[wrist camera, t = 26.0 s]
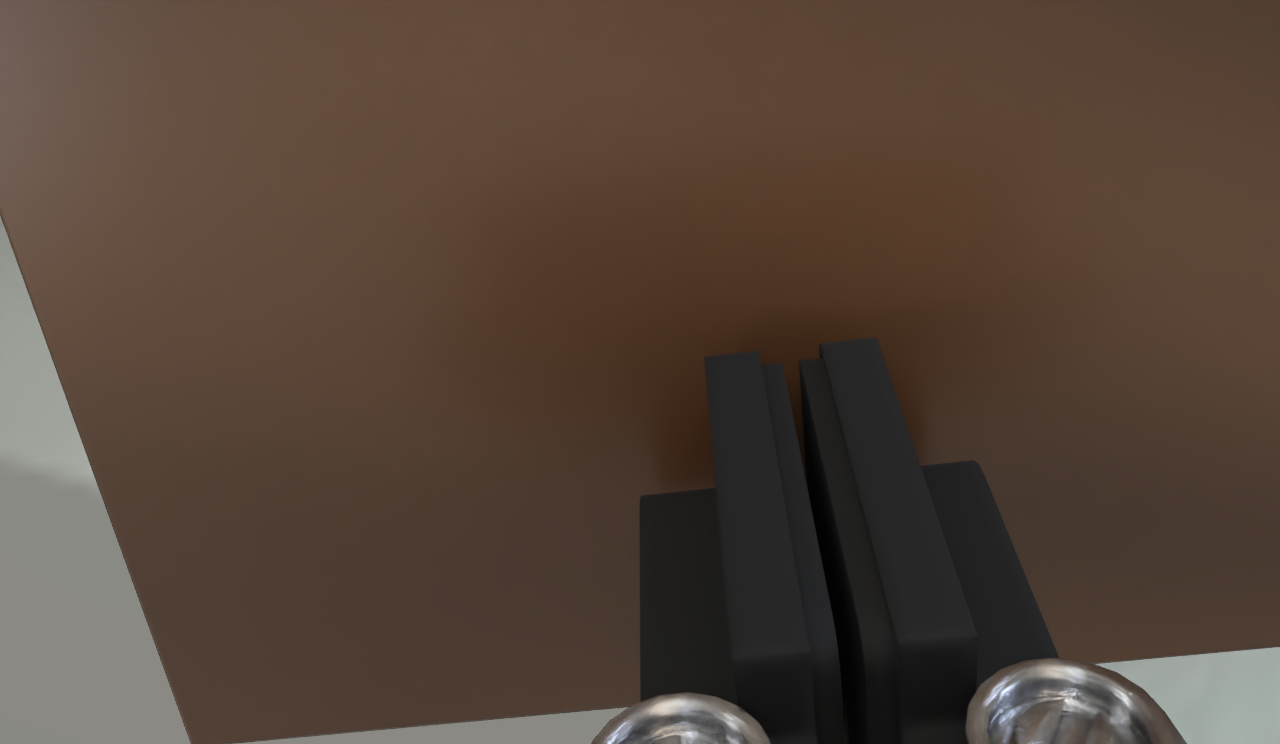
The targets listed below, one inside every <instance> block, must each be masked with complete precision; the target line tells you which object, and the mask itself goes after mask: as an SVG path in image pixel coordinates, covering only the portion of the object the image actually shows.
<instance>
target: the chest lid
mask: <svg viewBox="0 0 1280 744" xmlns="http://www.w3.org/2000/svg"><path fill="white" fill-rule="evenodd" d="M0 215H1V218H2V221H3V224H4V227H5V229H6V232H7V235H8V238H9V240H10V243H11V246H12V249H13V251H14V254H15V257H16V260H17V263H18V265H19V268H20V271H21V274H22V276H23V279H24V282H25V285H26V288H27V290H28V293H29V296H30V299H31V301H32V304H33V307H34V310H35V312H36V315H37V318H38V321H39V324H40V326H41V329H42V332H43V335H44V337H45V340H46V343H47V346H48V349H49V351H50V354H51V357H52V360H53V362H54V365H55V368H56V371H57V374H58V376H59V379H60V382H61V385H62V387H63V390H64V393H65V396H66V398H67V401H68V404H69V407H70V410H71V412H72V415H73V418H74V421H75V423H76V426H77V429H78V432H79V435H80V437H81V440H82V443H83V446H84V448H85V451H86V454H87V457H88V459H89V462H90V465H91V468H92V471H93V473H94V476H95V479H96V482H97V484H98V487H99V490H100V493H101V496H102V498H103V501H104V504H105V507H106V509H107V512H108V515H109V518H110V521H111V523H112V526H113V529H114V531H115V534H116V537H117V540H118V543H119V545H120V548H121V551H122V554H123V557H124V559H125V562H126V565H127V568H128V570H129V573H130V576H131V579H132V582H133V584H134V587H135V590H136V593H137V595H138V598H139V601H140V604H141V606H142V609H143V612H144V614H145V618H146V620H147V623H148V626H149V629H150V631H151V634H152V636H153V640H154V643H155V645H156V648H157V651H158V654H159V656H160V659H161V662H162V665H163V668H164V670H165V673H166V676H167V679H168V681H169V684H170V687H171V689H172V692H173V695H174V698H175V701H176V704H177V706H178V709H179V712H180V715H181V717H182V720H183V723H184V726H185V729H186V731H187V734H188V737H189V740H190V742H191V744H232V743H244V742H255V741H266V740H276V739H287V738H298V737H308V736H319V735H331V734H341V733H352V732H362V731H374V730H385V729H395V728H406V727H417V726H428V725H439V724H449V723H460V722H471V721H482V720H493V719H504V718H513V717H514V718H515V717H525V716H536V715H547V714H558V713H569V712H579V711H590V710H601V709H612V708H623V707H631V706H632V705H634V704H637V703H640V524H639V509H640V497H641V496H642V495H651V494H661V493H670V492H680V491H689V490H698V489H708V488H716V481H715V471H714V460H713V449H712V439H711V428H710V417H709V407H708V396H707V385H706V375H705V364H704V357H705V356H714V355H723V354H732V353H740V352H749V351H759V355H760V361H761V365H764V364H773V363H782V364H783V368H784V373H785V378H786V383H787V388H788V393H789V399H790V404H791V409H792V414H793V419H794V424H795V429H796V434H797V439H798V444H799V449H800V454H801V459H802V464H803V469H804V474H805V479H806V484H807V472H806V458H805V444H804V430H803V416H802V402H801V388H800V373H799V361H800V360H808V359H817V358H819V344H820V343H828V342H837V341H846V340H854V339H863V338H872V337H875V338H877V340H878V342H879V345H880V348H881V351H882V354H883V357H884V360H885V363H886V366H887V369H888V372H889V375H890V378H891V380H892V383H893V386H894V389H895V392H896V395H897V398H898V401H899V404H900V407H901V410H902V413H903V416H904V419H905V422H906V425H907V428H908V431H909V434H910V437H911V440H912V443H913V446H914V449H915V451H916V454H917V457H918V460H919V463H920V466H924V465H933V464H942V463H952V462H961V461H971V460H974V461H976V462H977V463H978V464H979V465H980V467H981V469H982V471H983V473H984V475H985V478H986V480H987V482H988V485H989V487H990V490H991V492H992V495H993V497H994V499H995V502H996V504H997V507H998V509H999V512H1000V514H1001V517H1002V519H1003V521H1004V524H1005V526H1006V529H1007V531H1008V534H1009V536H1010V539H1011V541H1012V543H1013V546H1014V548H1015V551H1016V553H1017V556H1018V558H1019V561H1020V563H1021V565H1022V568H1023V570H1024V573H1025V575H1026V578H1027V580H1028V583H1029V585H1030V587H1031V590H1032V592H1033V595H1034V597H1035V600H1036V602H1037V604H1038V607H1039V609H1040V612H1041V614H1042V617H1043V619H1044V622H1045V624H1046V626H1047V629H1048V631H1049V634H1050V636H1051V639H1052V641H1053V644H1054V646H1055V648H1056V651H1057V653H1058V656H1059V658H1062V659H1070V660H1077V661H1085V662H1089V663H1092V664H1099V663H1110V662H1121V661H1132V660H1142V659H1153V658H1164V657H1175V656H1186V655H1197V654H1207V653H1218V652H1229V651H1240V650H1251V649H1262V648H1272V647H1280V0H0ZM807 489H808V487H807Z"/></svg>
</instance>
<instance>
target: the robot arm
mask: <svg viewBox="0 0 1280 744" xmlns="http://www.w3.org/2000/svg"><path fill="white" fill-rule="evenodd" d="M704 364H705V375H706V385H707V396H708V407H709V417H710V428H711V439H712V449H713V460H714V471H715V481H716V488H708V489H698V490H689V491H680V492H670V493H661V494H651V495H642V496H641V497H640V509H639V524H640V703H637V704H634V705H632V706H631V707H629V708H628V709H626V710H625V711H623V712H622V713H620V714H619V715H617V716H616V717H614V718H613V719H611V720H610V721H609V722H608V723H607V724H606V726H605V727H604V728H603V729H602V730H601V732H600V733H599V734H598V735H597V736H596V737H595V739H594V740H593V741H592V744H1187V743H1186V742H1185V740H1184V739H1183V738H1182V736H1181V735H1180V733H1179V732H1178V730H1177V729H1176V728H1175V726H1174V725H1173V723H1172V722H1171V720H1170V719H1169V717H1168V716H1167V715H1166V713H1165V712H1164V711H1163V710H1162V708H1161V707H1160V706H1159V705H1158V704H1157V703H1156V702H1155V701H1154V700H1153V699H1152V698H1151V697H1150V696H1149V695H1148V693H1147V692H1146V691H1145V690H1144V689H1142V688H1141V687H1139V686H1137V685H1136V684H1134V683H1133V682H1131V681H1130V680H1128V679H1126V678H1125V677H1123V676H1122V675H1120V674H1119V673H1117V672H1114V671H1111V670H1108V669H1106V668H1103V667H1100V666H1097V665H1095V664H1092V663H1089V662H1085V661H1077V660H1070V659H1062V658H1059V656H1058V653H1057V651H1056V648H1055V646H1054V644H1053V641H1052V639H1051V636H1050V634H1049V631H1048V629H1047V626H1046V624H1045V622H1044V619H1043V617H1042V614H1041V612H1040V609H1039V607H1038V604H1037V602H1036V600H1035V597H1034V595H1033V592H1032V590H1031V587H1030V585H1029V583H1028V580H1027V578H1026V575H1025V573H1024V570H1023V568H1022V565H1021V563H1020V561H1019V558H1018V556H1017V553H1016V551H1015V548H1014V546H1013V543H1012V541H1011V539H1010V536H1009V534H1008V531H1007V529H1006V526H1005V524H1004V521H1003V519H1002V517H1001V514H1000V512H999V509H998V507H997V504H996V502H995V499H994V497H993V495H992V492H991V490H990V487H989V485H988V482H987V480H986V478H985V475H984V473H983V471H982V469H981V467H980V465H979V464H978V463H977V462H976V461H974V460H971V461H961V462H952V463H942V464H933V465H924V466H920V463H919V460H918V457H917V454H916V451H915V449H914V446H913V443H912V440H911V437H910V434H909V431H908V428H907V425H906V422H905V419H904V416H903V413H902V410H901V407H900V404H899V401H898V398H897V395H896V392H895V389H894V386H893V383H892V380H891V378H890V375H889V372H888V369H887V366H886V363H885V360H884V357H883V354H882V351H881V348H880V345H879V342H878V340H877V338H875V337H872V338H863V339H854V340H846V341H837V342H828V343H820V344H819V358H817V359H808V360H800V361H799V373H800V388H801V402H802V416H803V430H804V444H805V458H806V472H807V484H806V479H805V474H804V469H803V464H802V459H801V454H800V449H799V444H798V439H797V434H796V429H795V424H794V419H793V414H792V409H791V404H790V399H789V393H788V388H787V383H786V378H785V373H784V368H783V364H782V363H773V364H764V365H761V361H760V355H759V351H749V352H740V353H732V354H723V355H714V356H705V357H704ZM807 487H808V489H807Z"/></svg>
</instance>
